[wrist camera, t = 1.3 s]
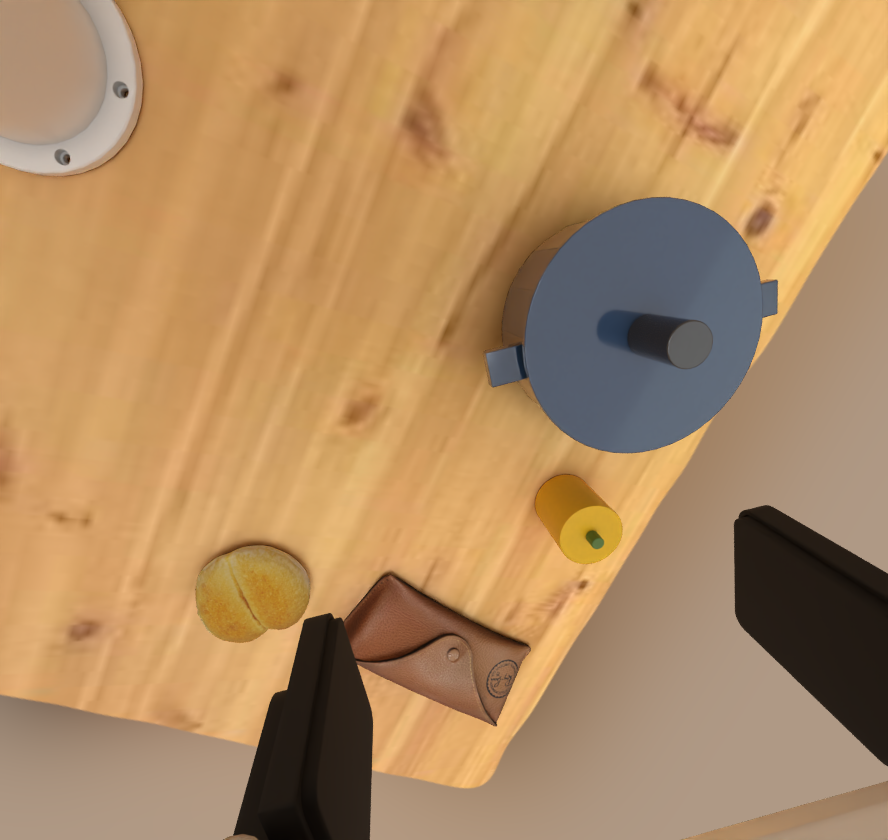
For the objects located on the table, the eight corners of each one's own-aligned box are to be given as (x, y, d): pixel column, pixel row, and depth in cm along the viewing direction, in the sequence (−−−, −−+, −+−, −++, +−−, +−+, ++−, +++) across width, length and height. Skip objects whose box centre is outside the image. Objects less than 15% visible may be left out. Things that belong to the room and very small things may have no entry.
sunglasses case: (538, 646, 46) (536, 723, 41) (494, 661, 51) (487, 732, 46) (384, 569, 41) (361, 645, 36) (349, 593, 46) (325, 664, 41)
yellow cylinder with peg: (530, 482, 41) (561, 523, 35) (586, 467, 42) (627, 505, 35) (539, 532, 43) (570, 581, 36) (593, 517, 43) (633, 562, 36)
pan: (449, 254, 35) (466, 249, 28) (712, 191, 36) (788, 172, 29) (489, 444, 40) (511, 478, 33) (719, 383, 41) (785, 403, 34)
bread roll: (324, 603, 42) (319, 635, 38) (227, 635, 42) (212, 671, 38) (290, 526, 39) (281, 553, 36) (186, 560, 39) (166, 590, 35)
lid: (498, 232, 29) (526, 223, 23) (748, 173, 30) (831, 151, 24) (539, 472, 34) (570, 510, 29) (751, 415, 35) (819, 441, 30)
